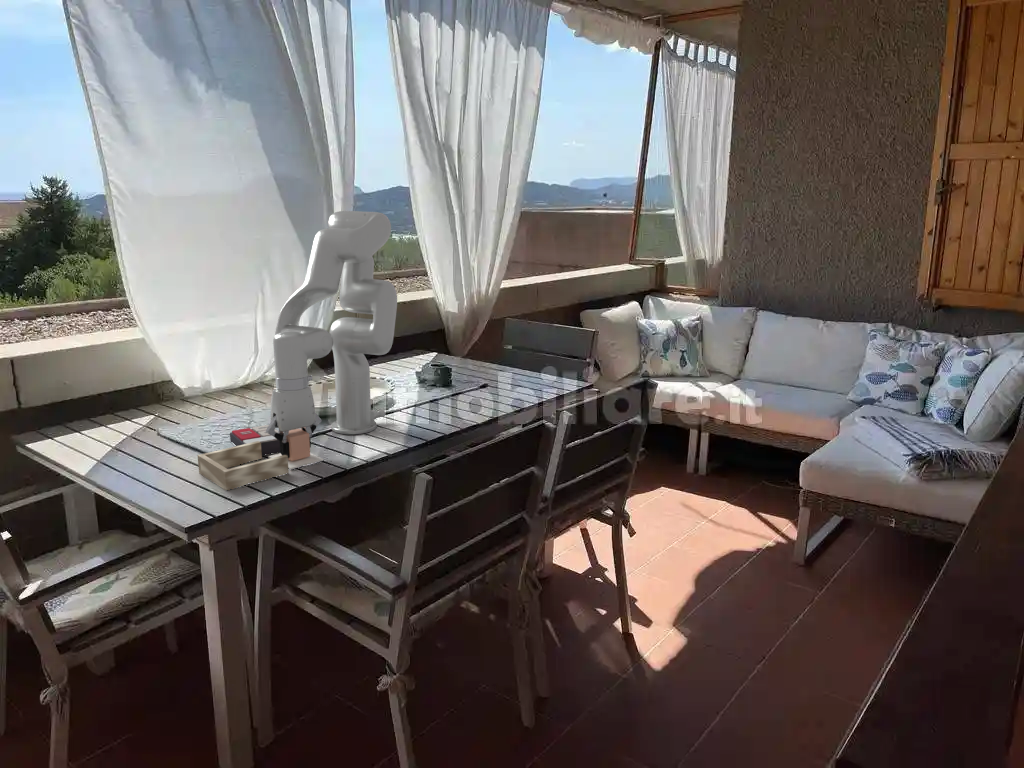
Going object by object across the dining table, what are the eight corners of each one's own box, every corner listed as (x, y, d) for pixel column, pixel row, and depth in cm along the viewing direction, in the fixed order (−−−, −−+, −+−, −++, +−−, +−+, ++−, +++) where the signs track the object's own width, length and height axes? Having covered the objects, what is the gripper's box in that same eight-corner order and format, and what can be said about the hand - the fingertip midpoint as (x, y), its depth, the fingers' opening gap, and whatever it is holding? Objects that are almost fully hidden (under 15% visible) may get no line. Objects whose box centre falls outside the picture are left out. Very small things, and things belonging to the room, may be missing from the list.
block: (299, 451, 186) (298, 428, 184) (310, 456, 183) (309, 433, 181) (281, 455, 182) (280, 432, 181) (292, 460, 179) (290, 437, 178)
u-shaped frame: (259, 458, 183) (258, 441, 182) (288, 473, 174) (287, 456, 173) (199, 473, 173) (197, 455, 172) (226, 490, 163) (224, 472, 162)
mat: (300, 450, 190) (300, 448, 189) (323, 461, 182) (323, 459, 182) (268, 458, 183) (268, 456, 183) (290, 470, 176) (290, 468, 176)
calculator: (270, 423, 200) (288, 435, 188) (271, 438, 201) (290, 451, 189) (228, 429, 194) (245, 442, 182) (230, 445, 195) (246, 459, 183)
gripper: (314, 374, 186) (318, 442, 191) (251, 386, 174) (256, 458, 179) (331, 380, 181) (333, 450, 186) (266, 392, 169) (271, 466, 174)
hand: (295, 453), depth 182 cm, fingers closed on block, 4 cm apart
